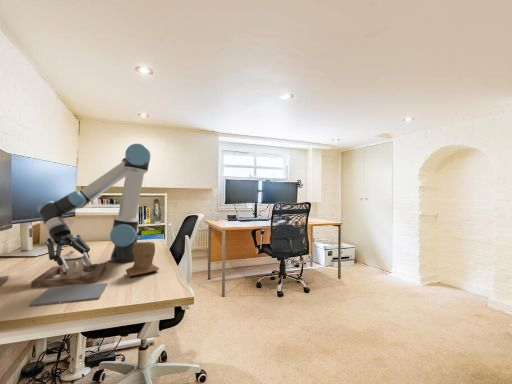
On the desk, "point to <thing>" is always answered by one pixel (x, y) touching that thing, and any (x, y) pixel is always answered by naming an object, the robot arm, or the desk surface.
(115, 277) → the desk surface
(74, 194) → the robot arm
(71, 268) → the teacup with lid
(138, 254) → the brown upright rounded piece
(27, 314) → the desk surface
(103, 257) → the desk surface
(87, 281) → the walnut holder frame
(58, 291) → the charcoal rubber mat
